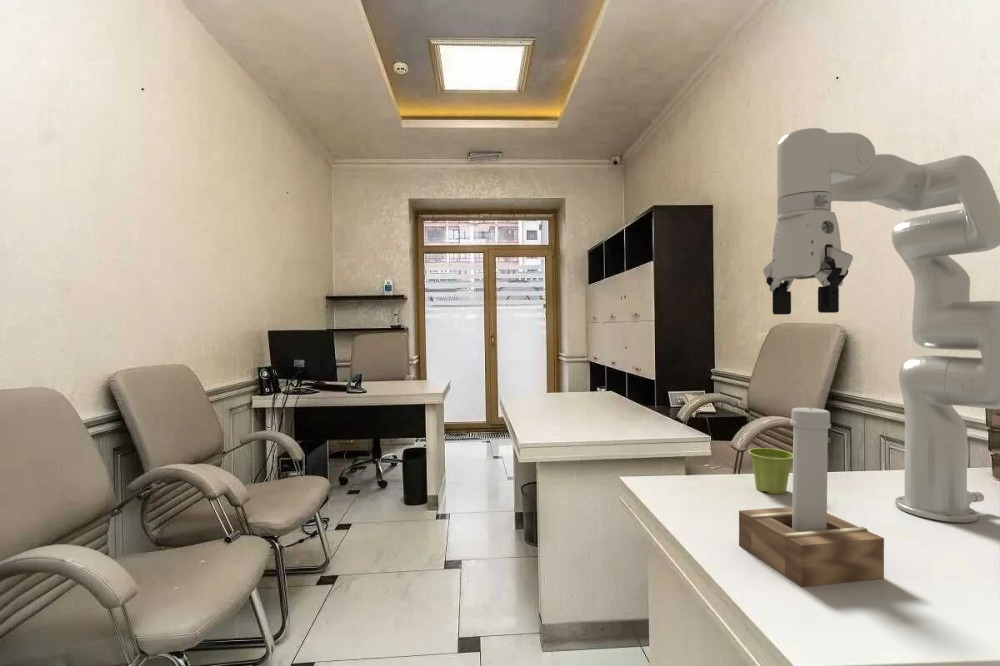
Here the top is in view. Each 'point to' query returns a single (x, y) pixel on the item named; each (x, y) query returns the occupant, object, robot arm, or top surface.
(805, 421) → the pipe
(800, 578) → the socket block
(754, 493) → the top surface
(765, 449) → the plant pot
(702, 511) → the top surface
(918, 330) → the robot arm
